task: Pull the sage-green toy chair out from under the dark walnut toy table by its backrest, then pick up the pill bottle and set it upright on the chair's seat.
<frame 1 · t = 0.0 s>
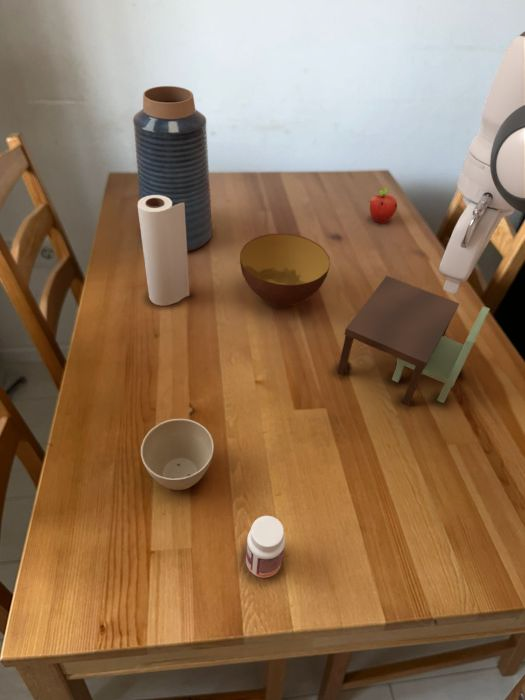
hand: (460, 272, 72), 26 cm above the table, tool pointing down, fingers open, 8 cm apart
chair: (438, 345, 88), point 8 cm above the table, slide at 0.0 cm
toy table: (389, 359, 96), on the table
vase: (177, 235, 122), on the table
pill bottle: (263, 560, 68), on the table
flower pot: (180, 475, 76), on the table
bowl: (280, 298, 107), on the table
paper towel roll: (166, 299, 105), on the table
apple: (379, 222, 132), on the table
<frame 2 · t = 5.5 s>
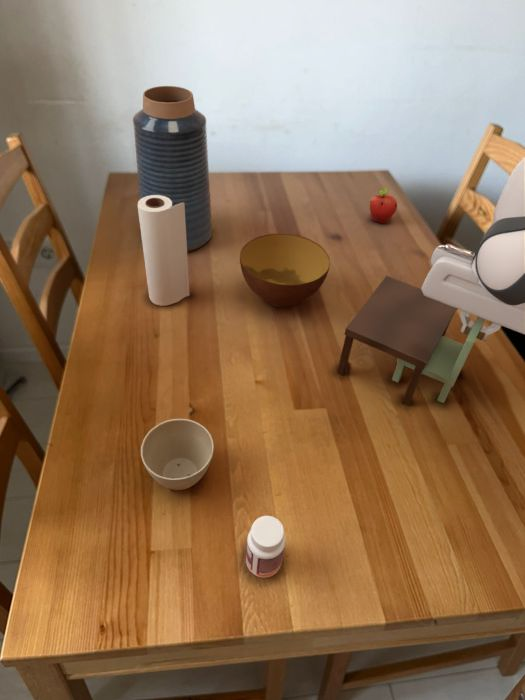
hand: (473, 334, 83), 13 cm above the table, tool pointing down, fingers closed on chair
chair: (438, 345, 88), point 8 cm above the table, slide at 0.0 cm, touching gripper
everything else where it was.
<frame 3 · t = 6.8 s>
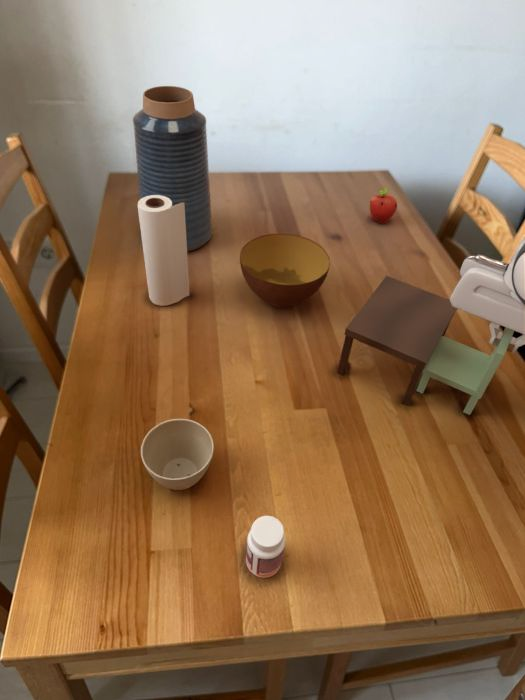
hand: (502, 346, 81), 13 cm above the table, tool pointing down, fingers closed on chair
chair: (464, 356, 86), point 8 cm above the table, slide at 4.6 cm, touching gripper
everything else where it was.
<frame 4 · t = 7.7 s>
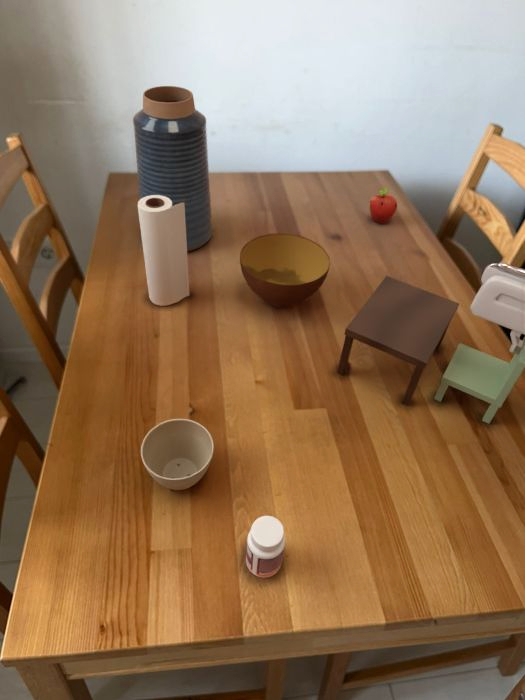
hand: (523, 354, 80), 13 cm above the table, tool pointing down, fingers closed on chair
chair: (483, 364, 85), point 8 cm above the table, slide at 7.9 cm, touching gripper
everything else where it was.
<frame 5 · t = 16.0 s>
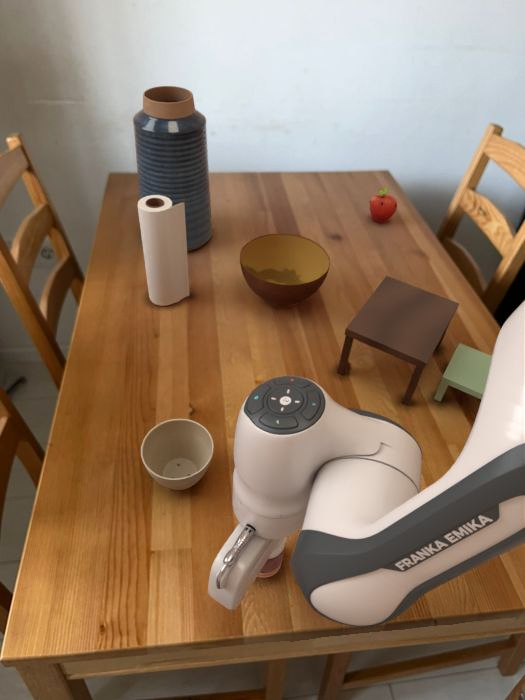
hand: (265, 549, 65), 3 cm above the table, tool pointing down, fingers closed on pill bottle, 5 cm apart
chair: (483, 364, 85), point 8 cm above the table, slide at 7.8 cm
pill bottle: (263, 560, 68), on the table, touching gripper
everything else where it was.
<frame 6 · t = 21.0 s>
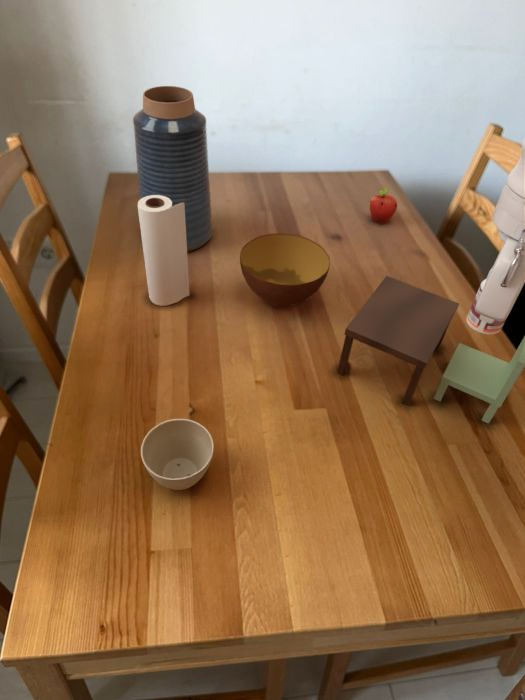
hand: (492, 306, 68), 25 cm above the table, tool pointing down, fingers closed on pill bottle, 5 cm apart
pill bottle: (482, 324, 71), point 22 cm above the table, touching gripper
everything else where it was.
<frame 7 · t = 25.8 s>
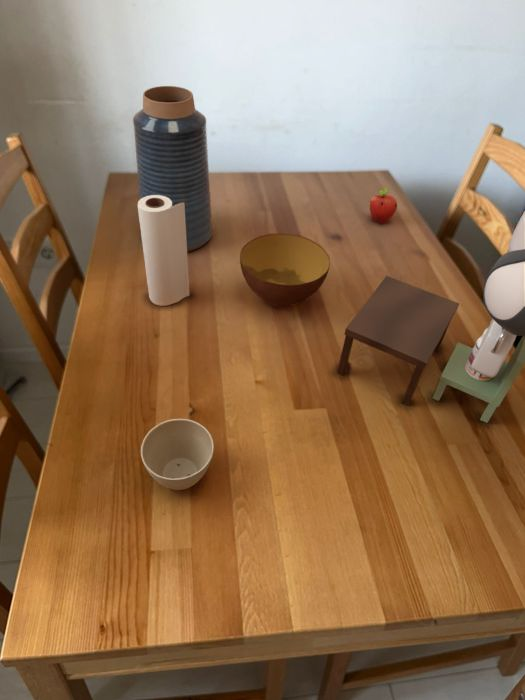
hand: (485, 358, 84), 9 cm above the table, tool pointing down, fingers closed on pill bottle, 5 cm apart
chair: (481, 364, 85), point 8 cm above the table, slide at 7.6 cm, touching pill bottle
pill bottle: (478, 372, 87), point 6 cm above the table, touching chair, gripper
everything else where it was.
when the fingers open (9 cm above the table, at t = 25.8 s): pill bottle stays where it is, resting on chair.
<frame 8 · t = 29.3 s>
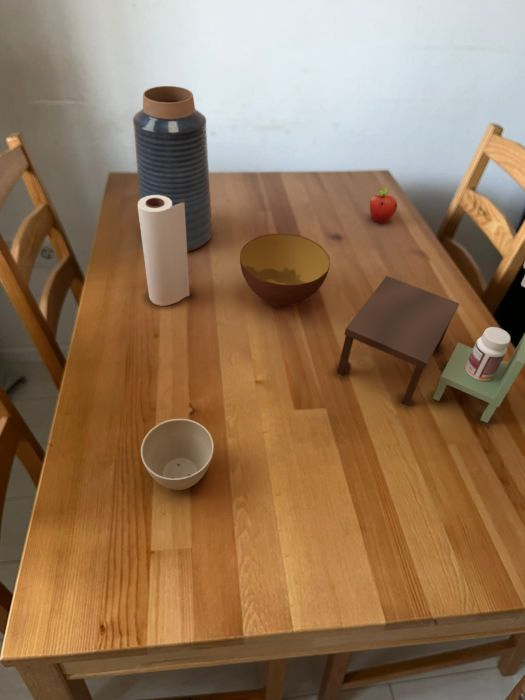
pill bottle: (478, 372, 87), point 6 cm above the table, touching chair
everything else where it was.
at the end: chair slide at 7.6 cm; pill bottle inside the target area (0.3 cm from its centre), point 5.8 cm above the table; pill bottle tilted 0° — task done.
